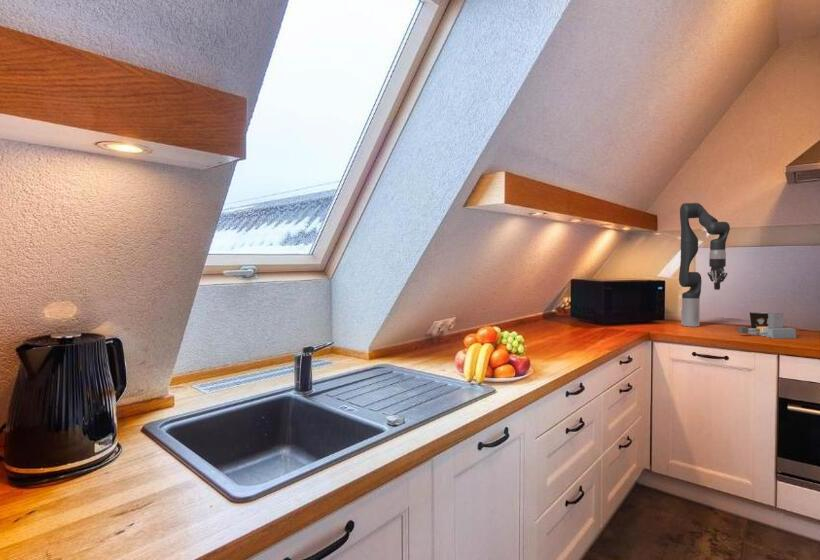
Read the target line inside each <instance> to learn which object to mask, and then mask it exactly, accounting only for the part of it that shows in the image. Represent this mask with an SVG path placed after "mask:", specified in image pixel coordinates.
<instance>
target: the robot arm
mask: <svg viewBox="0 0 820 560" xmlns="http://www.w3.org/2000/svg"><path fill="white" fill-rule="evenodd" d="M679 219H680V263H679V264H680V265H679V271H678V272H679V274H678V282H679V285H680V286H681V287H682V288H689V290H687V291H685V292H683V293H682V294H681V310H680V311H681V313H680V314H681V315H680V316H681V317H680V318H681V320H680V321H681V322H680V324H681V326H682V325H683V327H690V328H691V327H692V328H695V327H696V328H697V326H698V327H700V309H701V307H700V306H701V305H700V302H701V301H700V300H701V299H700V297H701V292H702V275H701V273H699V272H698V271H690V265H691V263H692V261H693V260H694V258H695V257H696V256H697V254H698V251H699V238H698V237H697V235H696V234H695V232H694V230H693V229H692V227H691V224H690V220H689V219H698V222H699V224H700V226H702V227H704V228H705V230H706V233H707V234H709V235H713V236H715V235H716V236H717V235H719V236H718V237H717V238H713V239H711V240H710V242H709V243H710V244H709V249H710V250H709V257H708V258H709V261H708V265H709V267H710V271H709V272H707V276H708V277H709V279H710V281H711V282H713V290H716V291H720V289H721V283H723V282H724V281H725V280H726V278H727V276H728V272H725V267H726V266H727V265H726V264H727V253H726V251H727V250H726V247H727V246H726V242H727V239H728V236H729V233H730V229H731V225H730V224H729V223H728V222H727V221H718V219H717V218H716V217H715V216H713V215H711V214H710V213H709V212H708V211H707V210H706V209H705V208H704V206H703V205H702V204H700V203H699V202H684V203H682V204H681V205H680V207H679Z"/></svg>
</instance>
